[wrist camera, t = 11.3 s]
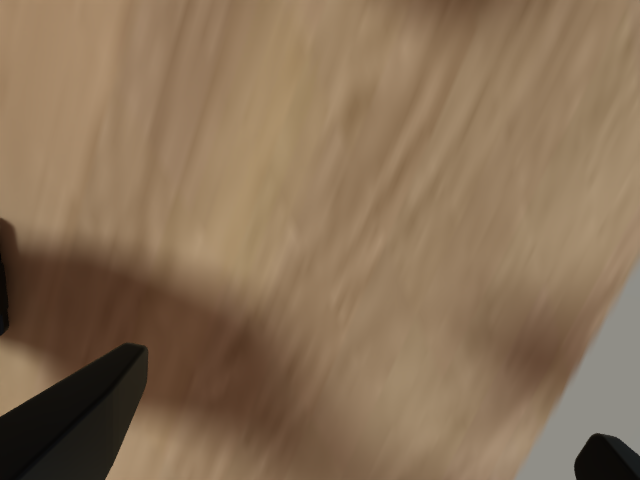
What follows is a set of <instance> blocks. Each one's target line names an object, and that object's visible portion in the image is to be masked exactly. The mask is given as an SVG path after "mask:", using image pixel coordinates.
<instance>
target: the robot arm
mask: <svg viewBox="0 0 640 480" xmlns="http://www.w3.org/2000/svg"><path fill="white" fill-rule="evenodd" d="M7 308H8V297H7V289H6V280H5V272H4V265H3V263H2V261H1V255H0V336H1V335H2V334H3V333H4V332H5V331H6V330H7V329H8V327H9V323H8V314H7ZM147 372H148V349H147V347H146V346H144V345H139V344H134V343H124V344H122V345H121V346H119V347H117V348H115V349H114V350H112V351H110V352H109V353H107V354H105V355H104V356H102V357H100V358H99V359H97V360H95V361H94V362H92V363H90V364H88V365H87V366H85V367H83V368H82V369H80V370H78V371H77V372H75V373H73V374H72V375H70V376H68V377H67V378H65V379H63V380H62V381H60V382H58V383H56V384H55V385H53V386H51V387H50V388H48V389H46V390H45V391H43V392H41V393H40V394H38V395H36V396H35V397H33V398H31V399H29V400H28V401H26V402H24V403H23V404H21V405H19V406H18V407H16V408H14V409H13V410H11V411H9V412H8V413H6V414H4V415H2V416H1V417H0V480H105V479H106V477H107V475H108V473H109V471H110V469H111V467H112V465H113V463H114V461H115V459H116V456H117V454H118V452H119V449H120V447H121V445H122V442H123V440H124V437H125V435H126V433H127V430H128V428H129V425H130V423H131V421H132V418H133V416H134V413H135V411H136V409H137V406H138V404H139V401H140V399H141V397H142V394H143V392H144V389H145V386H146V382H147ZM574 471H575V476H576V480H640V456H639V455H638V454H637V453H635V452H634V451H633V450H632V449H631V448H629V447H628V446H627V445H626V444H625V443H624V442H622V441H621V440H620V439H618V438H617V437H614V436H610V435H605V434H600V433H596V434H593V435H592V436H591V437H590V438H589V439H588V441H587V442H586V444H585V446H584V447H583V449H582V450H581V452H580V453H579V455H578V456H577V458H576V460H575V464H574Z"/></svg>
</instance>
